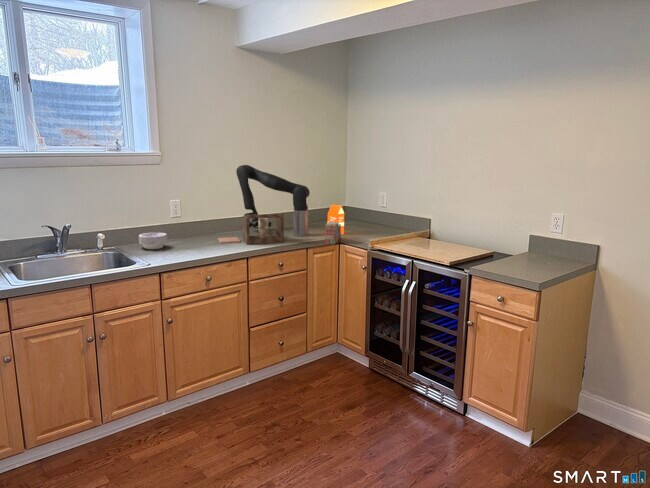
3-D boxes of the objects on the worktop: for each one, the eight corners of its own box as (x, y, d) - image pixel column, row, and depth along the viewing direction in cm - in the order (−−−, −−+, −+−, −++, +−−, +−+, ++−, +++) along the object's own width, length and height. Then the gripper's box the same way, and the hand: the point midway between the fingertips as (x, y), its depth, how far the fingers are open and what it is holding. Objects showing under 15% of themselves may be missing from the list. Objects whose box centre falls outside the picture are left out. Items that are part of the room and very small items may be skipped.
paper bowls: (157, 243, 291) (157, 230, 289) (172, 247, 282) (172, 234, 280) (134, 247, 279) (133, 234, 278) (148, 252, 270) (148, 238, 268)
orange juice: (337, 235, 329) (338, 206, 325) (326, 233, 334) (327, 205, 330) (343, 234, 335) (344, 205, 331) (333, 232, 340) (334, 204, 336)
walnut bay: (278, 238, 314) (278, 211, 310) (283, 242, 303) (283, 214, 299) (243, 240, 305) (242, 212, 302) (247, 244, 295) (246, 215, 291)
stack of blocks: (331, 237, 324) (332, 219, 321) (340, 237, 322) (341, 219, 320) (324, 243, 303) (325, 224, 301) (334, 244, 302) (335, 225, 299)
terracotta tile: (236, 238, 312) (236, 237, 312) (240, 242, 301) (240, 240, 301) (217, 239, 308) (217, 237, 308) (220, 243, 297) (220, 241, 297)
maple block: (266, 236, 307) (266, 217, 304) (268, 237, 302) (268, 218, 299) (258, 236, 305) (258, 217, 302) (260, 238, 300) (260, 218, 298)
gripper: (245, 216, 316) (250, 220, 301) (267, 215, 321) (273, 219, 306) (245, 227, 317) (250, 232, 303) (267, 226, 322) (273, 231, 307)
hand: (262, 226), depth 304 cm, fingers open, 8 cm apart
